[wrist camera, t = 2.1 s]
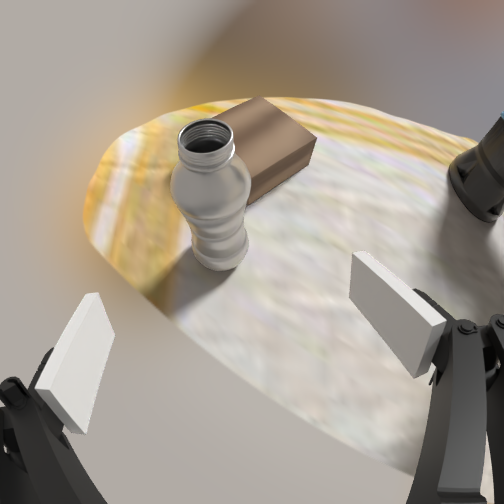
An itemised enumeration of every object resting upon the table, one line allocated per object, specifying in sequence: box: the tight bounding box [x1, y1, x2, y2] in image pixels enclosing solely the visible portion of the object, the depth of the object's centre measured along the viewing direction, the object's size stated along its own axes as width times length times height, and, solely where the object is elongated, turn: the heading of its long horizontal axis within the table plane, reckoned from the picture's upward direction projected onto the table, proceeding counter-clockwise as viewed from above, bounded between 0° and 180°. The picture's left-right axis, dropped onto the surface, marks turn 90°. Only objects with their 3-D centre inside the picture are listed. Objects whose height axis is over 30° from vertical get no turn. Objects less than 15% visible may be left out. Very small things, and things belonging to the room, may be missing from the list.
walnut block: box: [211, 96, 317, 205], centre depth 39 cm, size 12×12×6 cm
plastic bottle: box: [170, 118, 251, 271], centre depth 27 cm, size 6×7×20 cm
